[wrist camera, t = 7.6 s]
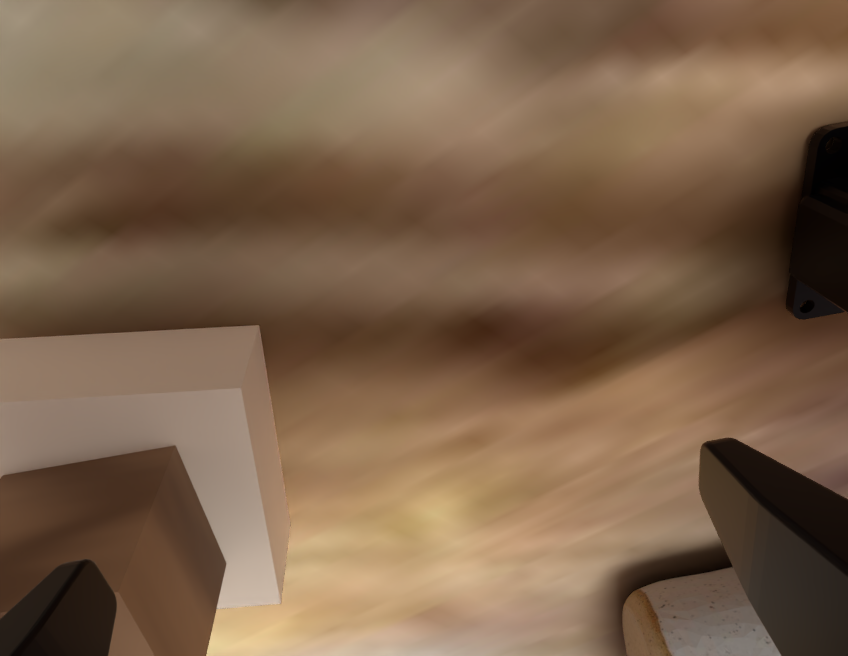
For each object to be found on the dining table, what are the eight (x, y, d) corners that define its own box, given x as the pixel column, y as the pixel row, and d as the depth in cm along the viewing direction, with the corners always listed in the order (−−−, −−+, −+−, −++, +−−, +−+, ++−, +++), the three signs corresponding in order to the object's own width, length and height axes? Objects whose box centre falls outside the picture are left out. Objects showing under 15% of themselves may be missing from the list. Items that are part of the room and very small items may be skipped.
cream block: (260, 320, 21) (240, 388, 17) (291, 517, 25) (280, 603, 22) (-24, 334, 20) (-105, 409, 17) (58, 534, 24) (8, 626, 21)
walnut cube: (175, 445, 18) (118, 591, 14) (226, 563, 20) (191, 719, 16) (2, 475, 18) (-112, 632, 14) (74, 590, 20) (-3, 754, 16)
